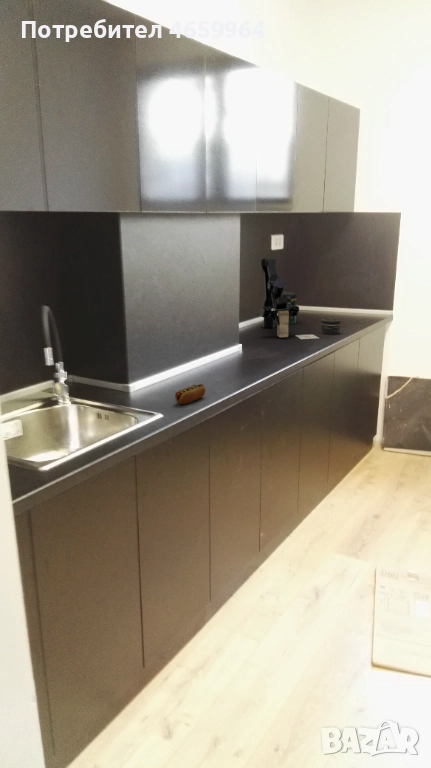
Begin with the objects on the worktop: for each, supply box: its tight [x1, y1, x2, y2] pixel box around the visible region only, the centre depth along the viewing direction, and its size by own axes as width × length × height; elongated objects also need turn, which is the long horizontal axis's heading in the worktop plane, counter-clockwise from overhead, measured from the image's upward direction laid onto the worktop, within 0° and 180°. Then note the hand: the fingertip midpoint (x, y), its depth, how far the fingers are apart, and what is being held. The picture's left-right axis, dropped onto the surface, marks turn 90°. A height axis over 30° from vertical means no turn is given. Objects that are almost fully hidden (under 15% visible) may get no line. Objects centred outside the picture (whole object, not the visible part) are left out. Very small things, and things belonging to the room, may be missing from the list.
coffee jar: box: [282, 291, 298, 325], centre depth 339 cm, size 10×8×19 cm
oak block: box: [276, 310, 290, 338], centre depth 297 cm, size 4×4×13 cm
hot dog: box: [174, 383, 206, 405], centre depth 198 cm, size 5×13×5 cm, turn 143°
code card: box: [295, 334, 319, 340], centre depth 302 cm, size 10×10×1 cm
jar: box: [320, 317, 342, 336], centre depth 310 cm, size 10×10×8 cm
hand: (283, 324), depth 296 cm, fingers closed on oak block, 4 cm apart
